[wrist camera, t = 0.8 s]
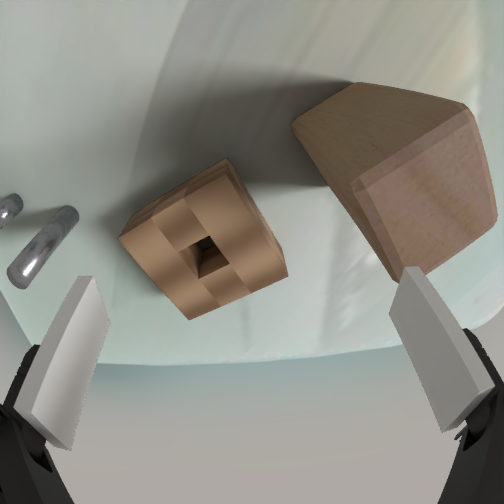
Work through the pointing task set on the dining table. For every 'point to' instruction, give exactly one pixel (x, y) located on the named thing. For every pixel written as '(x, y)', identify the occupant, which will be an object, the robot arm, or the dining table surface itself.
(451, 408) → the robot arm
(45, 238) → the long pin
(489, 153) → the dining table surface
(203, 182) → the socket block
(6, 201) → the short pin
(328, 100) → the wooden block
